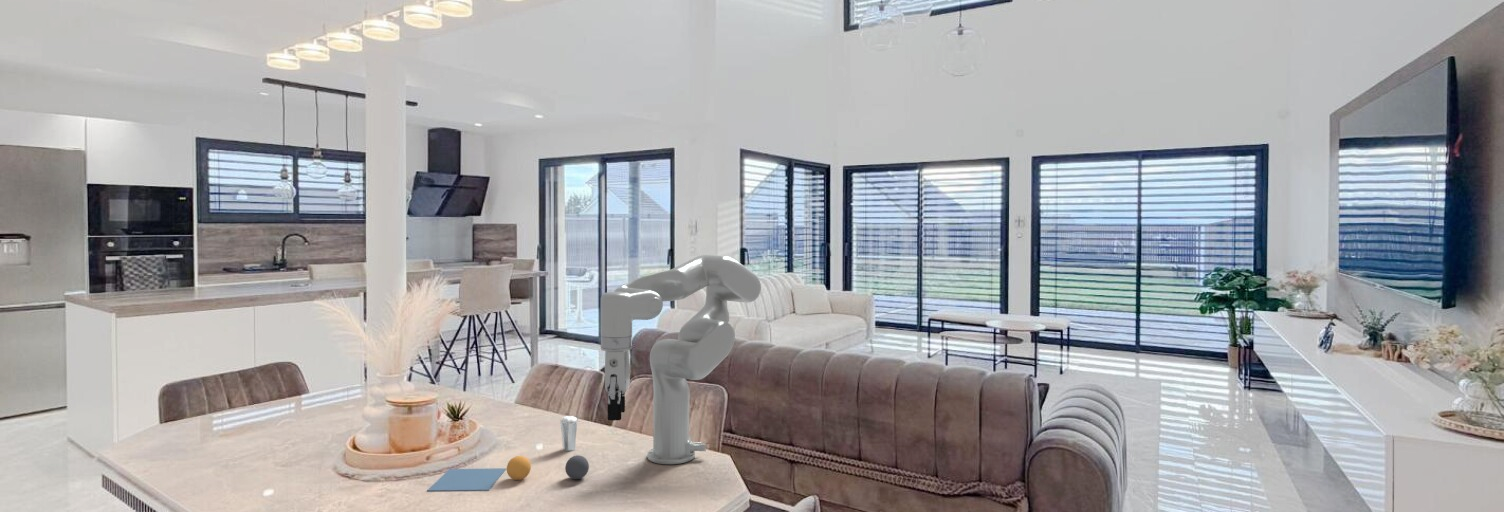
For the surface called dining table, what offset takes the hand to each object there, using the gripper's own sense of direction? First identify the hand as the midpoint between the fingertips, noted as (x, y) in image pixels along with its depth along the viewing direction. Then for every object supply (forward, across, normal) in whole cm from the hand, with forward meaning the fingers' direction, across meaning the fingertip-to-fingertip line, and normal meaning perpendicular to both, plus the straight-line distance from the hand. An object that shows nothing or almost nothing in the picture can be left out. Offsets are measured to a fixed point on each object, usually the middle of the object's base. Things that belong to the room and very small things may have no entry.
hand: (616, 415), depth 171 cm
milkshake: (+16, +22, +16) cm, 31 cm away
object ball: (+13, 0, +24) cm, 27 cm away
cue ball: (+13, 0, +10) cm, 16 cm away
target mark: (+16, 0, +36) cm, 39 cm away
